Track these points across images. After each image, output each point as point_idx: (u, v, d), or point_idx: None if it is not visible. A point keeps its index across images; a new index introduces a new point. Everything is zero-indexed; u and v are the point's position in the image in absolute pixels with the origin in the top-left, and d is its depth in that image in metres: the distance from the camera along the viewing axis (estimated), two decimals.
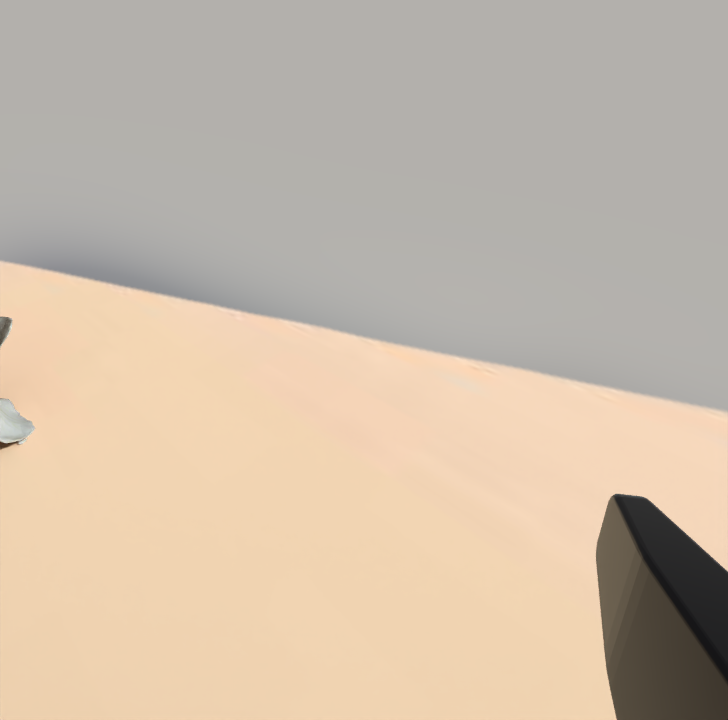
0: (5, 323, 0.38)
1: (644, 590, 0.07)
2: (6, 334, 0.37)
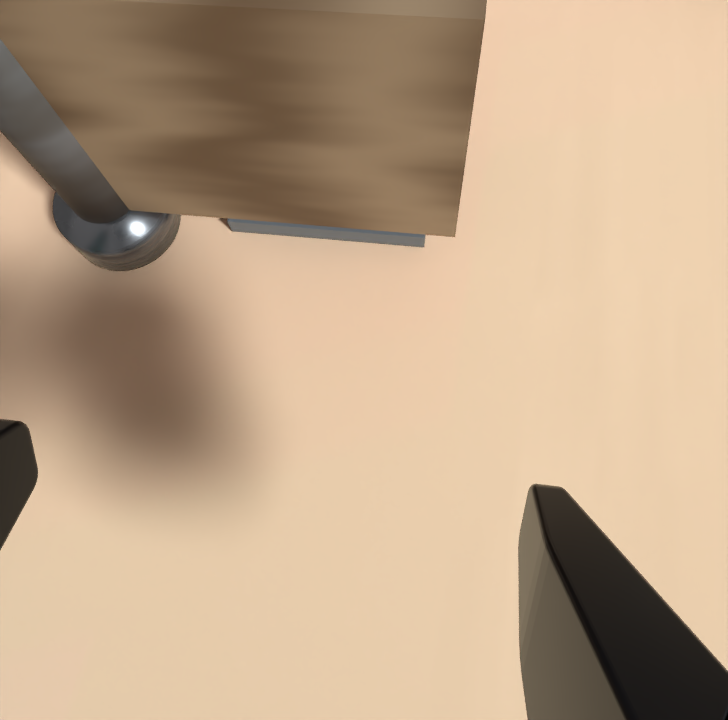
0: None
1: (546, 577, 0.07)
2: None
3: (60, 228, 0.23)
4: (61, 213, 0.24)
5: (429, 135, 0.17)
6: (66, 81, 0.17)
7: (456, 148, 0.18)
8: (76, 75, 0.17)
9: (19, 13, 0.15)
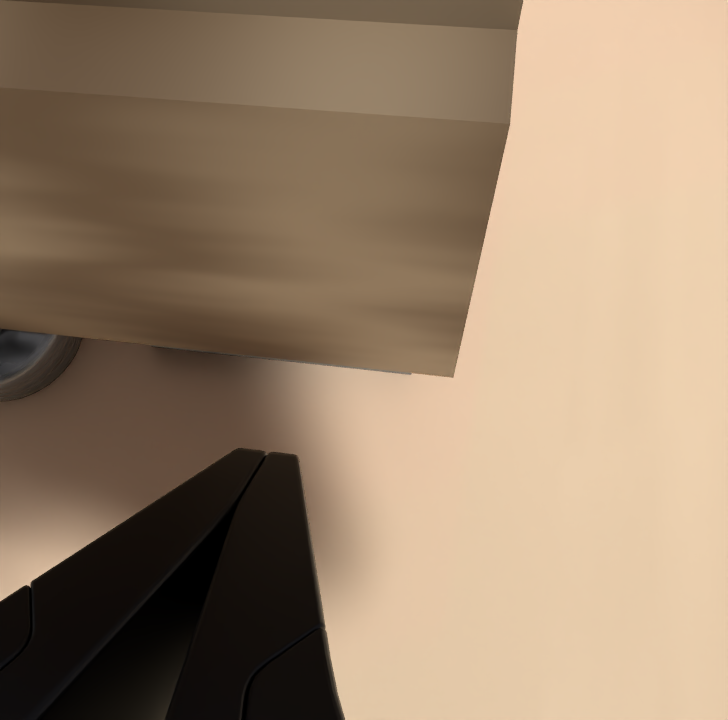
0: None
1: None
2: None
3: None
4: None
5: (411, 274, 0.11)
6: None
7: (455, 291, 0.11)
8: None
9: None
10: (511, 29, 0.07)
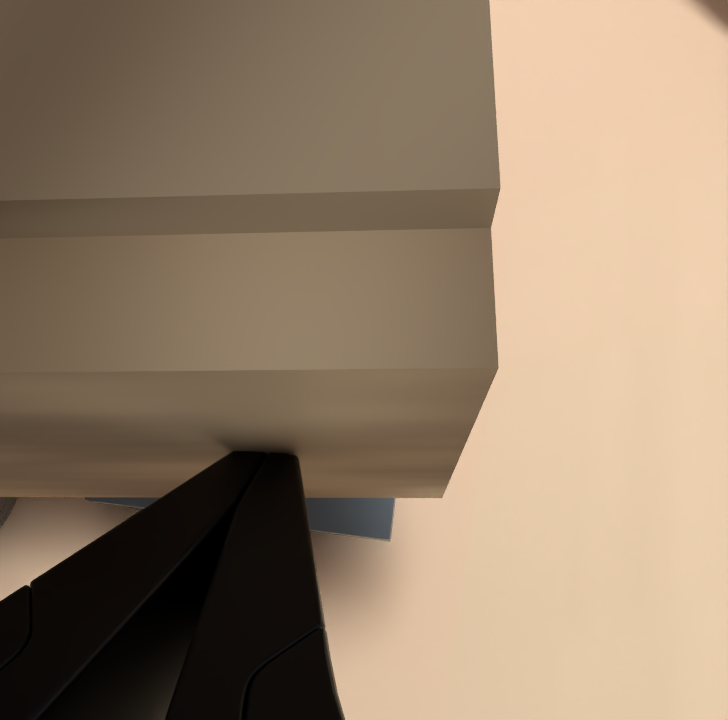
0: None
1: None
2: None
3: None
4: None
5: (386, 454, 0.09)
6: None
7: (438, 459, 0.09)
8: None
9: None
10: (483, 227, 0.06)
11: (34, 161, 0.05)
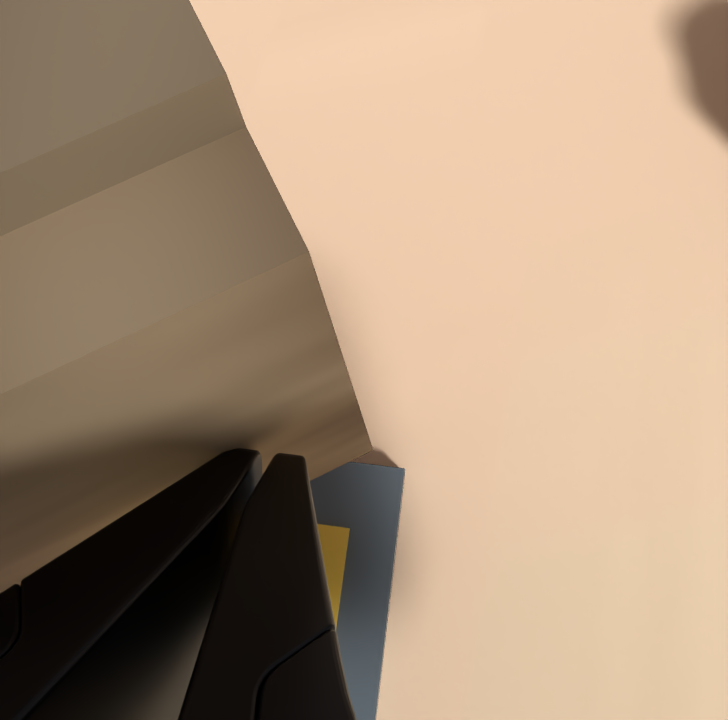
0: None
1: None
2: None
3: None
4: None
5: (280, 417, 0.09)
6: None
7: (336, 401, 0.09)
8: None
9: None
10: (239, 128, 0.05)
11: None
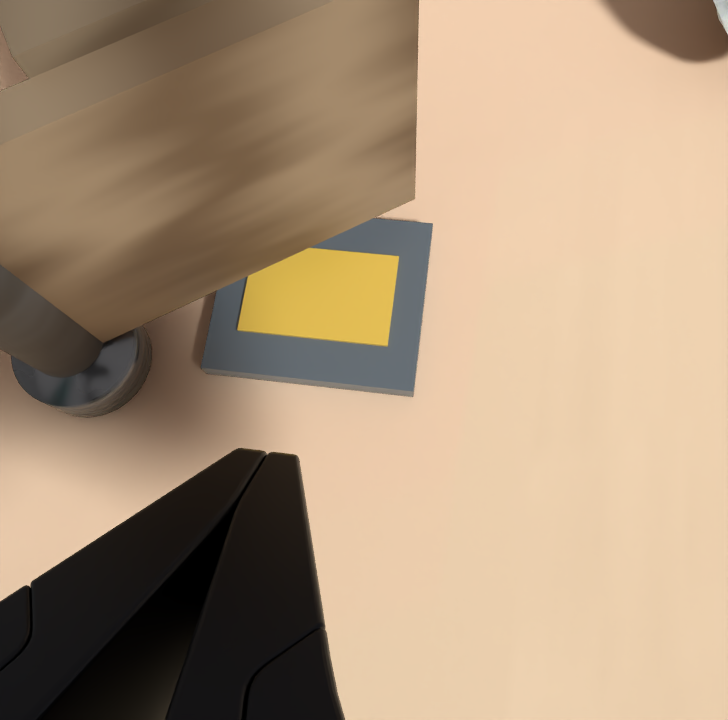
0: None
1: None
2: None
3: (19, 378, 0.22)
4: (20, 361, 0.22)
5: (382, 106, 0.17)
6: (21, 235, 0.15)
7: (407, 107, 0.18)
8: (32, 221, 0.15)
9: None
10: None
11: None
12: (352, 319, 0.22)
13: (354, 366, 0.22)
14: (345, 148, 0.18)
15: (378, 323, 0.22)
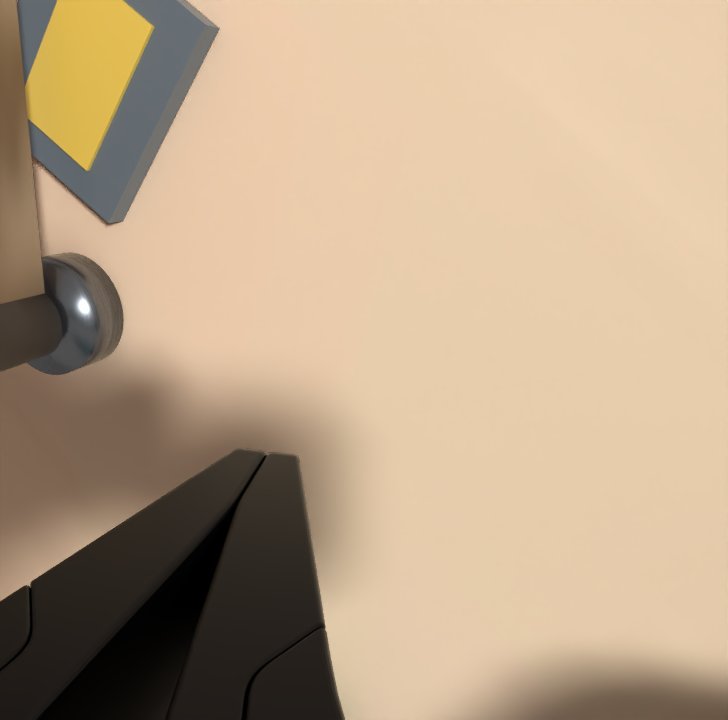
0: None
1: None
2: None
3: (55, 372, 0.24)
4: (42, 364, 0.24)
5: None
6: None
7: None
8: None
9: None
10: None
11: None
12: (116, 49, 0.20)
13: (160, 74, 0.20)
14: None
15: (128, 23, 0.20)
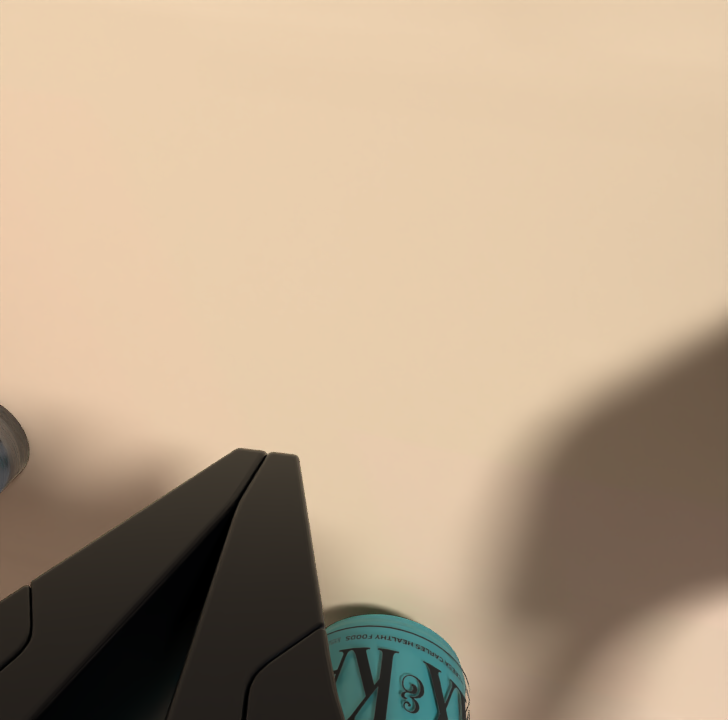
0: None
1: None
2: None
3: None
4: None
5: None
6: None
7: None
8: None
9: None
10: None
11: None
12: None
13: None
14: None
15: None
